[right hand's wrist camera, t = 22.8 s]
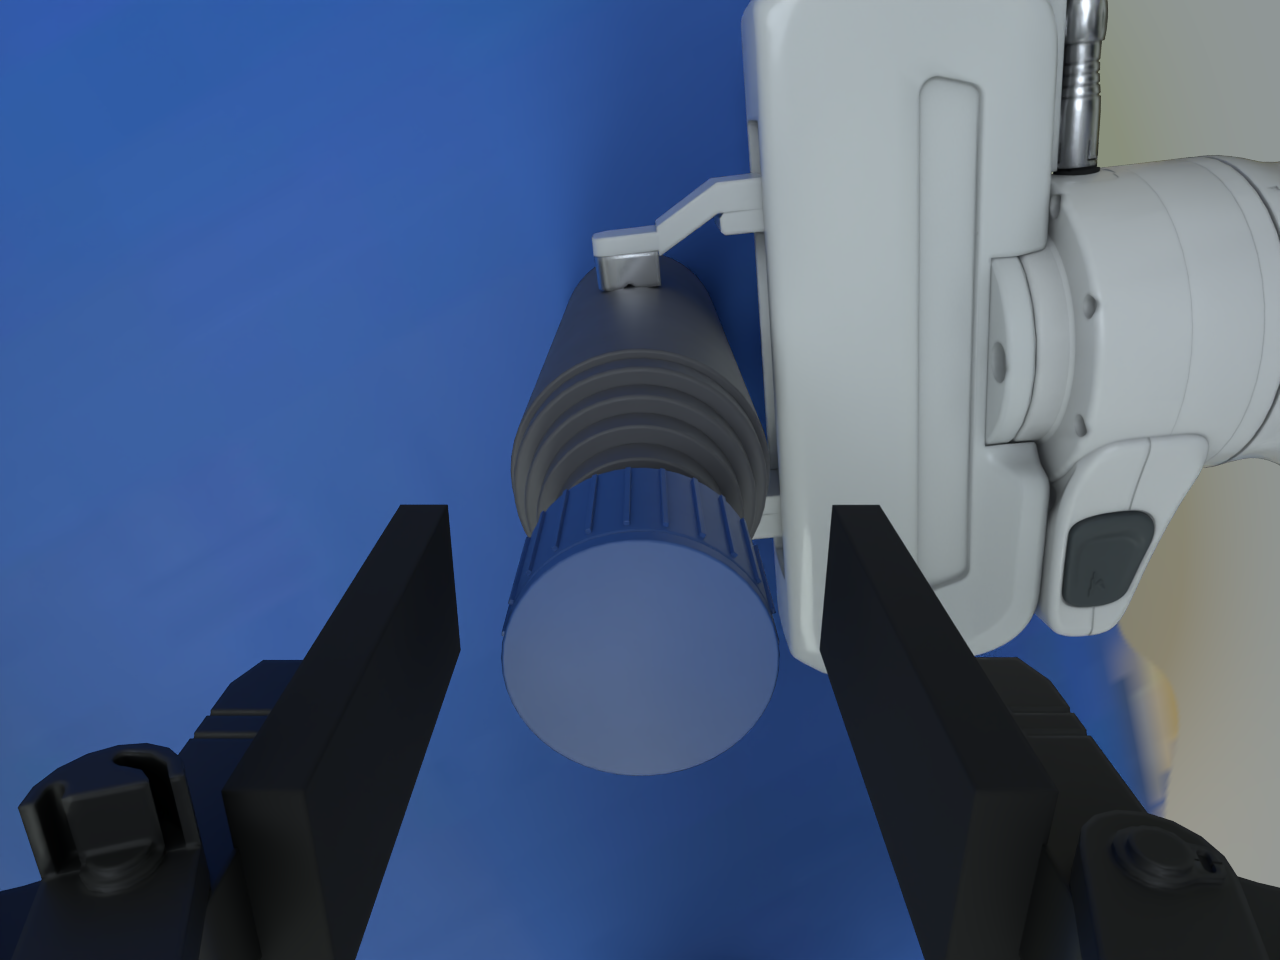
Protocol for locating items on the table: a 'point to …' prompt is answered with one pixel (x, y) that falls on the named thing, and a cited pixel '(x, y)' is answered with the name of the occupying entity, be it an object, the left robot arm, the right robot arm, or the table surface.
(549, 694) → the cap
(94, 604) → the table surface
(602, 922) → the table surface
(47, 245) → the table surface
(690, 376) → the bottle
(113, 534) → the table surface
